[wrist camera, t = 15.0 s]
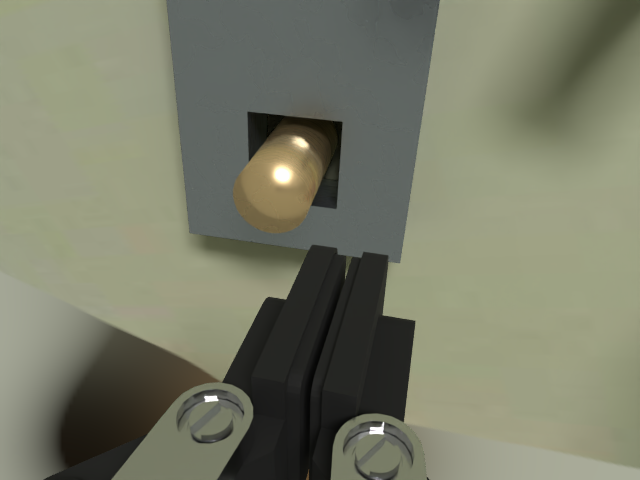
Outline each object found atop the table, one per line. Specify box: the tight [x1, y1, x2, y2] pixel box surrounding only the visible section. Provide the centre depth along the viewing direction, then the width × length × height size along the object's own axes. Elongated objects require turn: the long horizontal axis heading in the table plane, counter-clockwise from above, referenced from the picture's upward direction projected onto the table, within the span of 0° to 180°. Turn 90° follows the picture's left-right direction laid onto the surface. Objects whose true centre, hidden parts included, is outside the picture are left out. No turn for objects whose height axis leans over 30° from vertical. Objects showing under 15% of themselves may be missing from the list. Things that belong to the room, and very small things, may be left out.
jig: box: [167, 0, 440, 263], centre depth 31 cm, size 14×20×4 cm
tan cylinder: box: [233, 116, 338, 233], centre depth 31 cm, size 4×4×9 cm
